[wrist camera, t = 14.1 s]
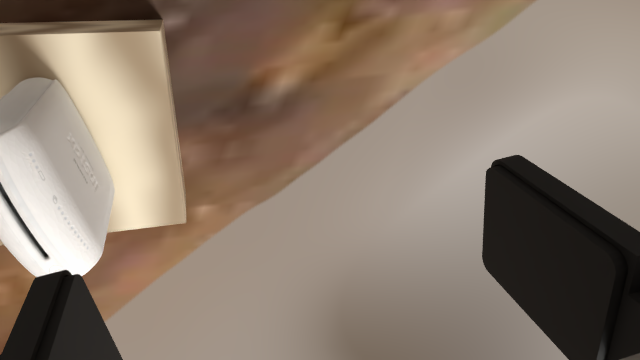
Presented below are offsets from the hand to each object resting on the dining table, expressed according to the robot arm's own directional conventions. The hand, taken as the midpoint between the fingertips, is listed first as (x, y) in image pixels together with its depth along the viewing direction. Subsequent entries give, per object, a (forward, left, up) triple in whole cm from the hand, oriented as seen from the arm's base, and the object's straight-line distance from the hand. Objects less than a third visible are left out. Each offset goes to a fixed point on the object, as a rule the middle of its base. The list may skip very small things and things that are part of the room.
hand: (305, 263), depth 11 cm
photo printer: (+13, +5, -28) cm, 31 cm away
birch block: (+13, +5, -34) cm, 37 cm away
